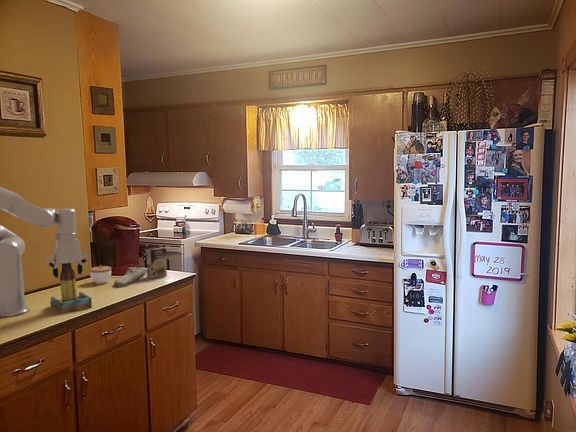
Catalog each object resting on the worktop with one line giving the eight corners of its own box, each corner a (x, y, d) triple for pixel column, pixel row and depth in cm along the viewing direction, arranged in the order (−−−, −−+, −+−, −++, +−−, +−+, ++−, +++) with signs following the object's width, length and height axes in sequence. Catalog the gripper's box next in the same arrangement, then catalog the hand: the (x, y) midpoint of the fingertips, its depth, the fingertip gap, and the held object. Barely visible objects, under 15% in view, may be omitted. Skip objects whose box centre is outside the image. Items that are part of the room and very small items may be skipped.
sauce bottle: (72, 298, 209) (69, 255, 207) (80, 301, 206) (78, 256, 204) (58, 302, 204) (55, 258, 201) (66, 304, 200) (64, 259, 198)
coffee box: (151, 279, 256) (150, 250, 254) (146, 276, 261) (145, 248, 259) (167, 276, 262) (166, 248, 260) (162, 274, 267) (161, 246, 265)
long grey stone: (108, 290, 239) (127, 291, 239) (108, 280, 238) (127, 281, 238) (134, 271, 273) (150, 272, 273) (134, 262, 273) (150, 263, 272)
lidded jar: (88, 285, 242) (87, 267, 241) (92, 280, 253) (91, 263, 252) (110, 284, 244) (109, 267, 243) (113, 279, 255) (112, 262, 254)
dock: (60, 313, 196) (59, 303, 195) (50, 306, 206) (50, 296, 206) (91, 307, 205) (91, 297, 204) (81, 300, 215) (80, 291, 214)
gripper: (47, 239, 193) (49, 280, 195) (90, 236, 205) (91, 274, 207) (42, 237, 199) (44, 276, 201) (84, 234, 210) (85, 271, 212)
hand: (68, 275), depth 204 cm, fingers open, 9 cm apart
